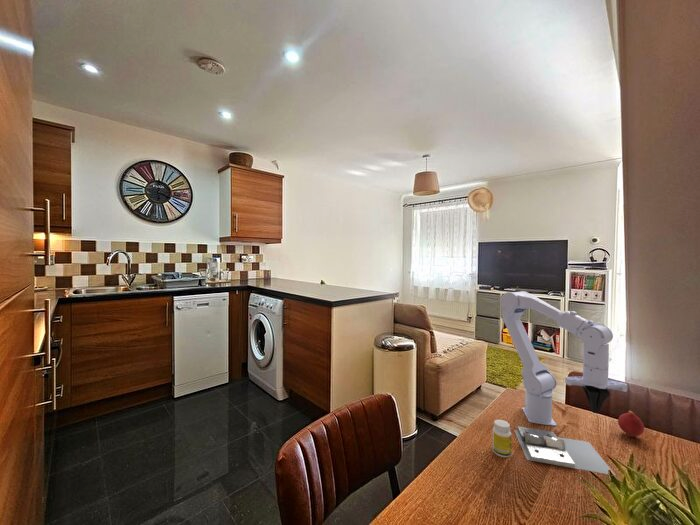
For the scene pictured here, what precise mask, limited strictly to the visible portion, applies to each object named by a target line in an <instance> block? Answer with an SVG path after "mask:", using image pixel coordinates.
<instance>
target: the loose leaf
mask: <svg viewBox="0 0 700 525" xmlns="http://www.w3.org/2000/svg"><path fill="white" fill-rule="evenodd" d="M543 437H544V440H545V447H542V446H536V445H530V444H526V450H527V452H528V454H529V456H530V458H531V460H532V462H536V463H543V464H549V465H552V466H553V465H554V466H560V467H564V468H570V469H576V468H575V463H574V462H573V460H572V459H571V457H570V456H569V454H568V452H567V451H565V442H564V440H563V439H561V438H562V437H560V438H555V437H548V436H543ZM531 460H530V461H531Z"/></svg>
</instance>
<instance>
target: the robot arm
mask: <svg viewBox="0 0 700 525" xmlns="http://www.w3.org/2000/svg"><path fill="white" fill-rule="evenodd" d="M499 304H500V307H501V317H502V320H503V322H504V323H503V324H504V325H505V327H506V329H507V332H508V335H509V336H510V338H511V340H512V344H513V345H514V347H515V350H516V353H517V354H518V357H519V359H520V361H521V363H522V366H523V367H522V370H521V373H520V374H521V376H522V380H523V381H522V383H523V387H524V389H525V395H524V407H521V410H522V409H523V410H522V411H523V413H524V415H525V417H526V419H527V420H528V422H529V423H533V424H538V425H539V424H540V425H545V426H554V427H557V422H555V420H554V419H553V390H554V389H556V387H557V384H558V381H557V379H556V377H555V376H554V375H553V374H552V373H551V371H550V370H549V368H548V366H547V365H545V364H544V363H542V362H541V361H540V358H539V356H538V354H537V352H536V350H535V347H534V346H533V343H532V342H531V339H530V337H529V335H528V332H527V331H526V328H525V327H524V324H523V322H522V320H521V318H522V316H523V314H524V312H526V310H528V309H529V310H530V309H532V310H534V311H536V312H538V313H540V314H543V316H547V317H548V318H550V319H553V320H554V321H556V324H557V326H558V327H560V328H562V329H563V330H566V331H567V332H569V333H571V334H573V335H575V336H576V337H578V338H580V340H581V342H582V343H583V356H582V357H583V359H582V361H583V362H582V364H583V365H582V376H565V377H564V383H565V384H566V385H567V386H570V387H571V386H577V387H579V386H580V387H581V388H582V390H583V392H584V394H585V396H586V398H587V402H588V405H589V410H590V411H591V412H592V413H593V414H600V410H601V408H602V406H603V404H604V403H605V401H606V400H607V399H608V398H609V396H611V395H610V393H611V392H610V391H609V390H616V391H622V392H625V393H627V392H628V384H626V383H624V382H622V381H615V380H610V379H609V365H610V364H609V362H610V361H609V358H610V356H609V355H610V353H609V350H610V349H609V347H610V344H609V343H610V342H612V340H613V338H614V336H613V335H614V334H613V332H612V330H611V329H610V328H609V327H607V326H606V325H605V324H603V323H595V321H593V320H591V319H590V320H589V319H587V318H584V317H582V316H580V315H578V312H577V311H575V310H564V311H562V310H560V309H558V308H557V307H555V306H553V305H551V304H549V303H548V302H546V301H544V300H543V299H540V298H539V297H537V296H536V295H535V294H532V293H529V292H528V291H525V290H521V291H520V290H519V291H514V292H513V291H512V292H511V291H510V292H504V294H502V296H501V298H500V300H499Z"/></svg>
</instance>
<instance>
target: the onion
mask: <svg viewBox="0 0 700 525" xmlns="http://www.w3.org/2000/svg"><path fill="white" fill-rule="evenodd" d="M617 424H618V425H619V428H620V429H621V430H622V431H623V433H625V434H626V435H627V436H628V437H631V438H632V437H633V438H634V437H639V436H641V435H642V434H643V433H644V432H645V425H644V423H643V421H642V420H641V418H640V417H639V416H637V414H635V413H634V412H633V411H631V410H627V412H625V413H622V414H621V415H619V417H618V420H617Z"/></svg>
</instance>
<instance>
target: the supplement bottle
mask: <svg viewBox="0 0 700 525" xmlns="http://www.w3.org/2000/svg"><path fill="white" fill-rule="evenodd" d="M491 447H492V452H493V453H494V454H495V455H496V456H498V457H501V458H509V457H511V456H512V432H511V425H510V423H509V422H508V421H506V420H503V419H495V420H494V423H493V427H492V446H491Z"/></svg>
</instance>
